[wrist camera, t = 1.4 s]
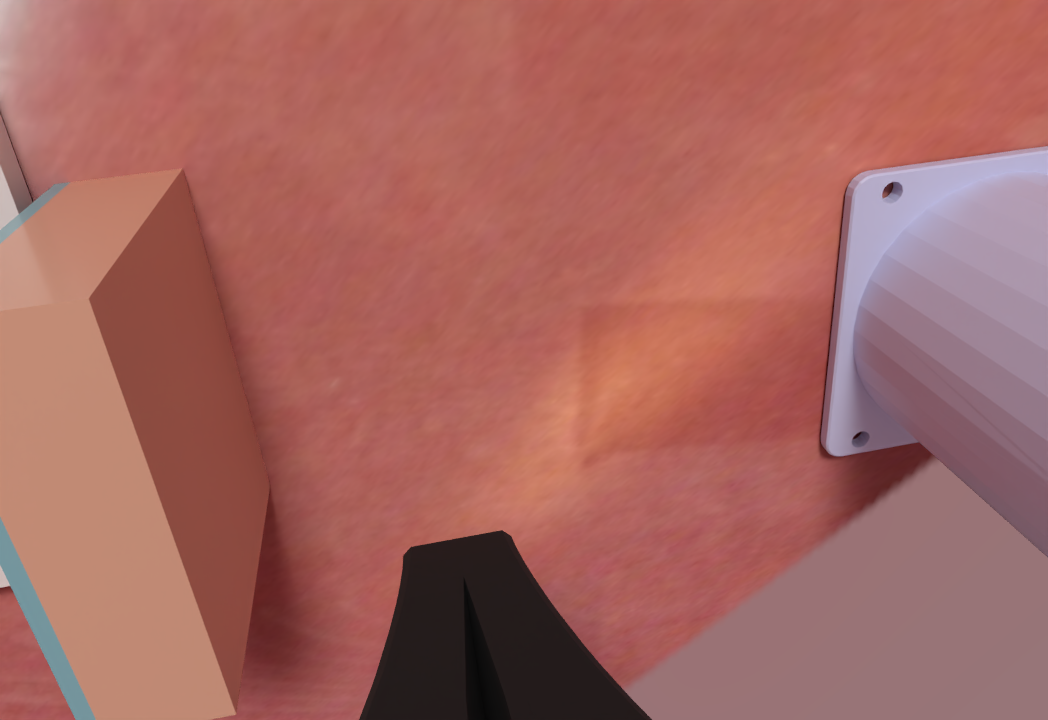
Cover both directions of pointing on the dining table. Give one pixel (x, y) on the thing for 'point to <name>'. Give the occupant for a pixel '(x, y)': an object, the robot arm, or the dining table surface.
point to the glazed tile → (126, 452)
